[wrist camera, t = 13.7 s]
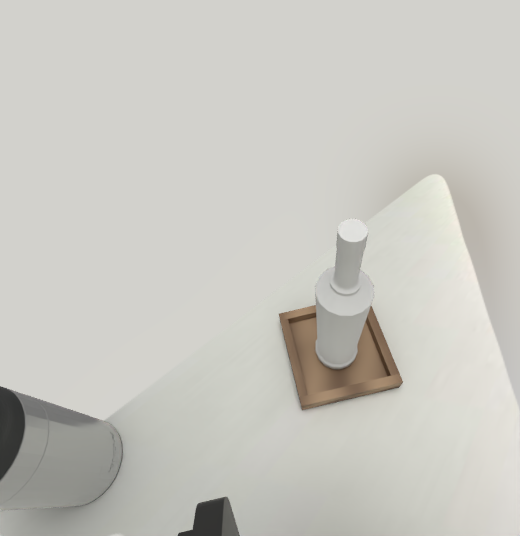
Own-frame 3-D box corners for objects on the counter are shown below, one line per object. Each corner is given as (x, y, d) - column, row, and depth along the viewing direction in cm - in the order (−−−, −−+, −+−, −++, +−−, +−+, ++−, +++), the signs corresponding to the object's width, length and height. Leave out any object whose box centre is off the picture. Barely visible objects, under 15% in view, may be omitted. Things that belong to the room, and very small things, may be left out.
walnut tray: (302, 409, 43) (301, 405, 41) (280, 321, 49) (278, 313, 47) (398, 387, 43) (403, 382, 41) (363, 301, 49) (366, 293, 47)
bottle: (319, 328, 47) (322, 197, 26) (359, 337, 46) (396, 207, 25) (311, 365, 45) (307, 254, 24) (352, 376, 43) (387, 268, 22)
